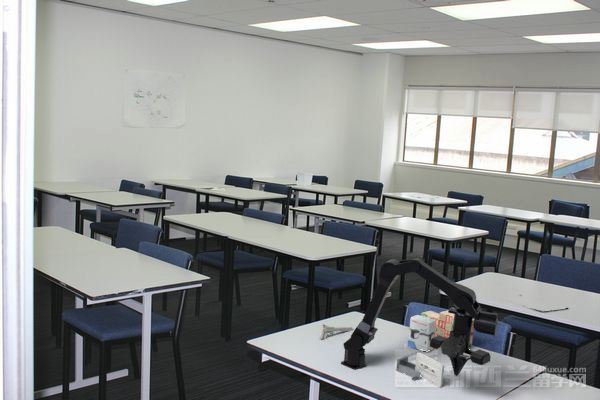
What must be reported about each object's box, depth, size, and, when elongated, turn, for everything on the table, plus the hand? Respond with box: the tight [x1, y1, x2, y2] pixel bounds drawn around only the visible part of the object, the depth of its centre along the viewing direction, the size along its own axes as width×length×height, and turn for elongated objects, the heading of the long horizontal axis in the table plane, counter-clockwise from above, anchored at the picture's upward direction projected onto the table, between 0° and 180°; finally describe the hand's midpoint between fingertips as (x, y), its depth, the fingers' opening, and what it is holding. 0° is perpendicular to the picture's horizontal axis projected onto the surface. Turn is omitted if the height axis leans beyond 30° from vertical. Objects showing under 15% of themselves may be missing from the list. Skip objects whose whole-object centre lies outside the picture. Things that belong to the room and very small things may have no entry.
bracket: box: [395, 355, 421, 382], centre depth 199 cm, size 9×9×4 cm
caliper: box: [319, 323, 355, 341], centre depth 231 cm, size 20×1×6 cm, turn 137°
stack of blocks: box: [420, 309, 475, 350], centre depth 233 cm, size 21×6×12 cm, turn 39°
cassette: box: [415, 351, 445, 388], centre depth 195 cm, size 12×2×8 cm, turn 32°
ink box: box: [407, 314, 436, 351], centre depth 223 cm, size 8×5×12 cm, turn 47°
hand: (456, 375), depth 188 cm, fingers closed
